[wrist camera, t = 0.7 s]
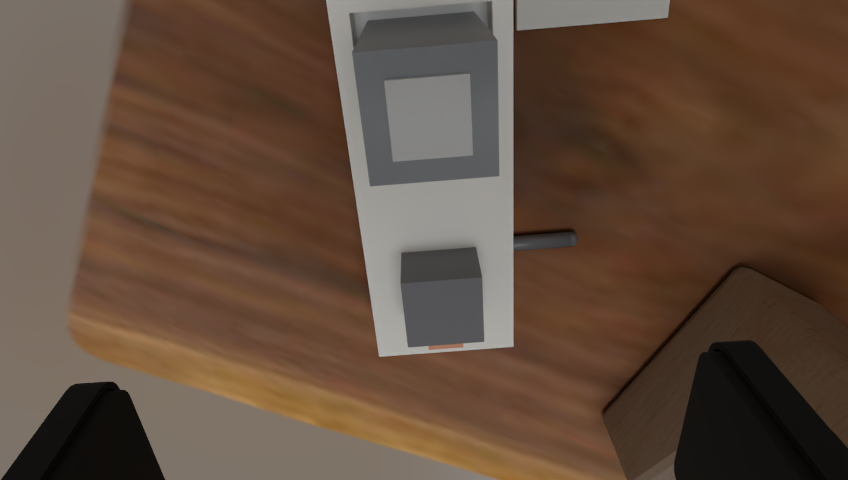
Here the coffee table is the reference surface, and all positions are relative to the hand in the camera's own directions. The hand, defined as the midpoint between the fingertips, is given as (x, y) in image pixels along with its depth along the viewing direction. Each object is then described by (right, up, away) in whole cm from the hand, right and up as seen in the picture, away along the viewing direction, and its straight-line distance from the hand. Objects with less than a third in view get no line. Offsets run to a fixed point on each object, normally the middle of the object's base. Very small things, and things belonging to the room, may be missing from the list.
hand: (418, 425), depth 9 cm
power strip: (+3, +7, +23) cm, 24 cm away
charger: (0, +11, +18) cm, 21 cm away
